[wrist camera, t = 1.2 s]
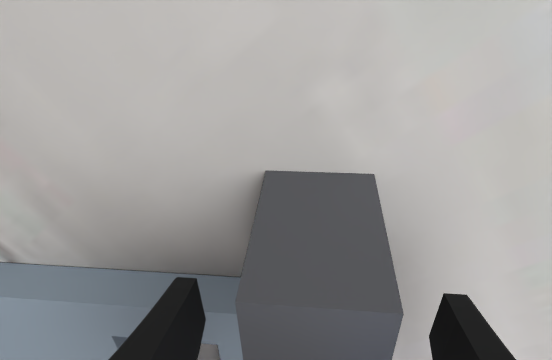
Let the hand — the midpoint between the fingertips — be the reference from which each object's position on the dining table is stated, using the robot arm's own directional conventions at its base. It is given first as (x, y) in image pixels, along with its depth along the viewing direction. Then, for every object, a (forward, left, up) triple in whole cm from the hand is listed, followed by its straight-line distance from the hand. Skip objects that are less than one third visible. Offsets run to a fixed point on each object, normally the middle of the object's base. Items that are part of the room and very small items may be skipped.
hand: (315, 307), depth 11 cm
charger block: (0, 0, -5) cm, 5 cm away
